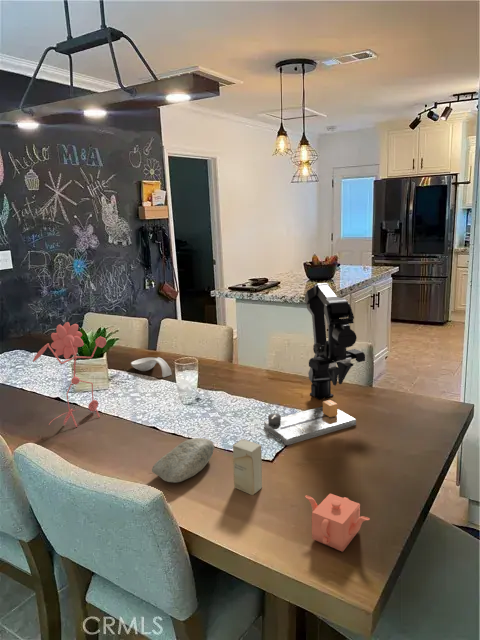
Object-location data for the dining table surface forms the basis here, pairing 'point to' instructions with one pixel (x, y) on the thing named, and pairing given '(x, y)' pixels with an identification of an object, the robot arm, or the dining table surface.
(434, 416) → the dining table surface
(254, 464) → the skincare box
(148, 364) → the spoon rest
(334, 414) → the fader
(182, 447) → the rock
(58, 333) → the figurine
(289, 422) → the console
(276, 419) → the dial
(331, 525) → the teapot
